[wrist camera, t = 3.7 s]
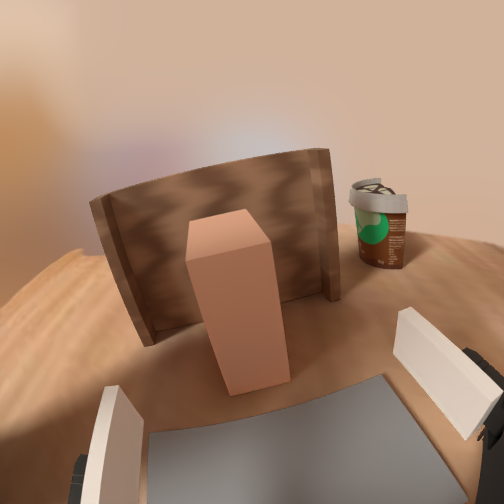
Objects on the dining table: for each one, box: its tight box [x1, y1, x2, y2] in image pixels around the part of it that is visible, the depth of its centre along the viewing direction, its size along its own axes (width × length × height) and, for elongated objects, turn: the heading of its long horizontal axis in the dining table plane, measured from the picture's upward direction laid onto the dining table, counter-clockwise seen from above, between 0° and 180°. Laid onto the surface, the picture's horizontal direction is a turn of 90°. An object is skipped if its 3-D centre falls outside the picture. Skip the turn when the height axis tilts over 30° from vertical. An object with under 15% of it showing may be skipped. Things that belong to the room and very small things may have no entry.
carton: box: [185, 209, 291, 396], centre depth 23 cm, size 5×9×12 cm, turn 11°
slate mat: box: [147, 374, 469, 504], centre depth 12 cm, size 18×13×1 cm
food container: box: [349, 178, 408, 269], centre depth 36 cm, size 12×6×10 cm, turn 171°
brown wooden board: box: [89, 148, 340, 346], centre depth 28 cm, size 22×4×16 cm, turn 101°
